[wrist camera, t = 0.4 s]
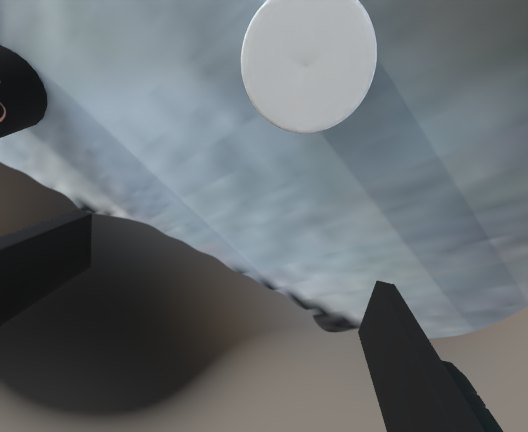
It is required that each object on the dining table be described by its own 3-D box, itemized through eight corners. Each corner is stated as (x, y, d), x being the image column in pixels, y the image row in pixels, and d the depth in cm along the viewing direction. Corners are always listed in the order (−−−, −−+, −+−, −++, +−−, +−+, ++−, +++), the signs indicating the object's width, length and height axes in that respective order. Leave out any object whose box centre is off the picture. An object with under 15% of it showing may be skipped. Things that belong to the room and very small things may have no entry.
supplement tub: (337, 106, 34) (342, 154, 23) (261, 81, 34) (226, 117, 23) (376, 9, 29) (410, 6, 17) (285, -20, 29) (255, -45, 17)
